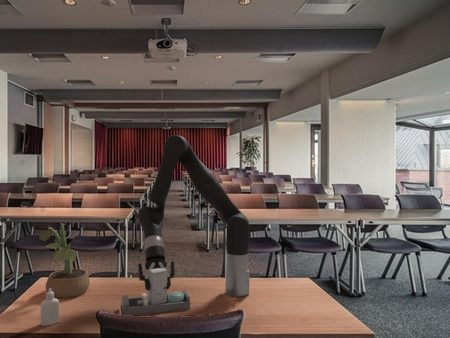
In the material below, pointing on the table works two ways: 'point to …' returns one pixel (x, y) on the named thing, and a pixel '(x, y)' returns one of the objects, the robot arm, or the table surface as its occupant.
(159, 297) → the skincare box
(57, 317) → the eye dropper bottle
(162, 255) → the robot arm
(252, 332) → the table surface
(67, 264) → the potted plant
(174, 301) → the teal jar
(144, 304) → the spring paddle
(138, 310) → the pusher lane
